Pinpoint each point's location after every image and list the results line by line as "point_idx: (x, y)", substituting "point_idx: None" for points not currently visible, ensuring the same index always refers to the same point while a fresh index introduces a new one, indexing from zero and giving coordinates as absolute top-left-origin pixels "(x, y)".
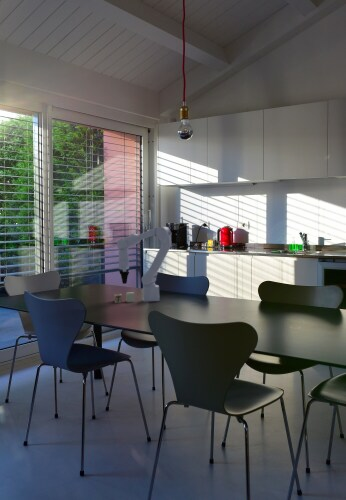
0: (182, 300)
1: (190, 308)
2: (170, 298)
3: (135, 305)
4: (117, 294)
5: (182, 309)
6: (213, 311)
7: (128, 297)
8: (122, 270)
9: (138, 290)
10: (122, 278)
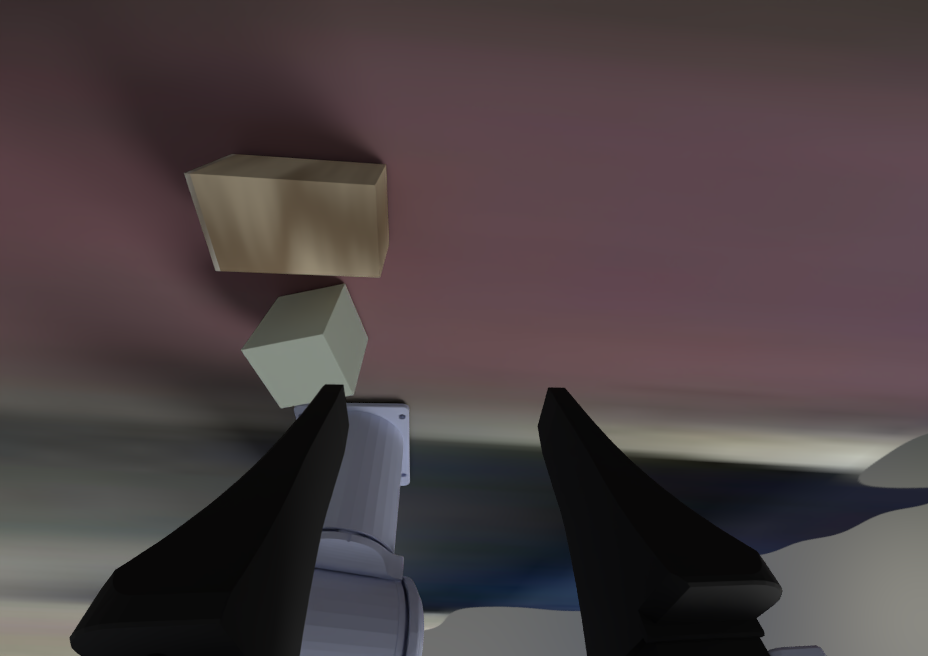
0: None
1: (62, 564)
2: (417, 523)
3: (106, 338)
4: (314, 224)
5: (14, 541)
6: (2, 609)
7: (261, 325)
8: (639, 628)
9: (874, 408)
10: (271, 460)
